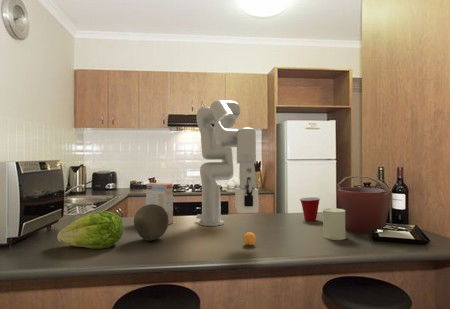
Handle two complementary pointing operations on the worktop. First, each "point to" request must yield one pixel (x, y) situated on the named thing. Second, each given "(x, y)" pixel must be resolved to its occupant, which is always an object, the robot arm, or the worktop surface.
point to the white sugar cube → (241, 203)
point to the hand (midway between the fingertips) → (246, 204)
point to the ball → (249, 238)
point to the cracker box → (161, 197)
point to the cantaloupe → (151, 222)
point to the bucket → (364, 206)
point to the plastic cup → (310, 208)
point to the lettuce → (93, 231)
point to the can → (334, 223)
